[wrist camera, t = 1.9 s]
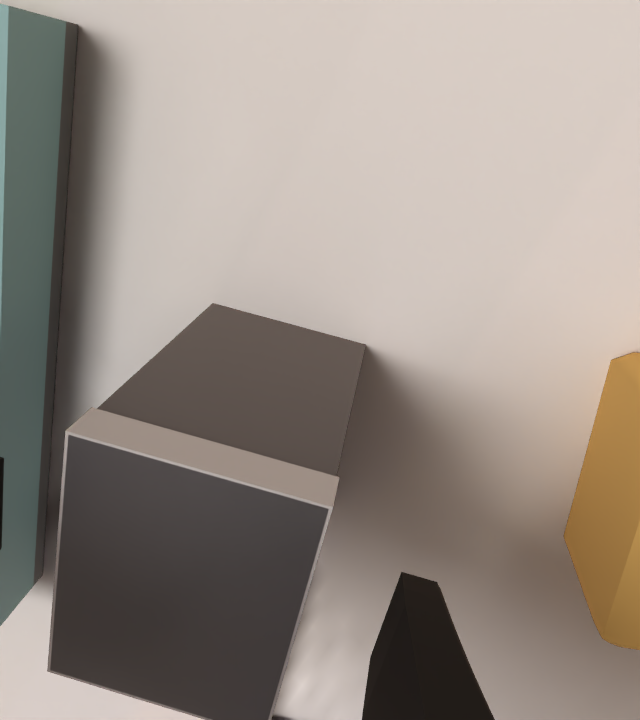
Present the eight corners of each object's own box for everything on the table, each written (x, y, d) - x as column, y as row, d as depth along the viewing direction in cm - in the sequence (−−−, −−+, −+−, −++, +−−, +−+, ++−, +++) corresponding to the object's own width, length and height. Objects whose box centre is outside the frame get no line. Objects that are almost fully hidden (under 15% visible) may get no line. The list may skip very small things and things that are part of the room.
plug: (368, 343, 15) (333, 507, 9) (322, 506, 17) (265, 738, 11) (211, 301, 16) (65, 430, 9) (183, 467, 17) (47, 670, 11)
